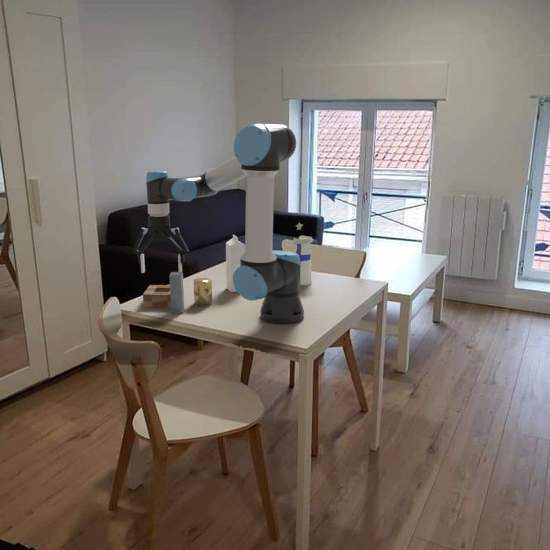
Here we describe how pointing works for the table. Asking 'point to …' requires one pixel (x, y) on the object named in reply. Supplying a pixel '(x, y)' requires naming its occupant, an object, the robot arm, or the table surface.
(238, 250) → the milk
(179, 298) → the square bit
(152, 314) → the table surface
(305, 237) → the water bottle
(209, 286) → the round bit
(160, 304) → the socket block
